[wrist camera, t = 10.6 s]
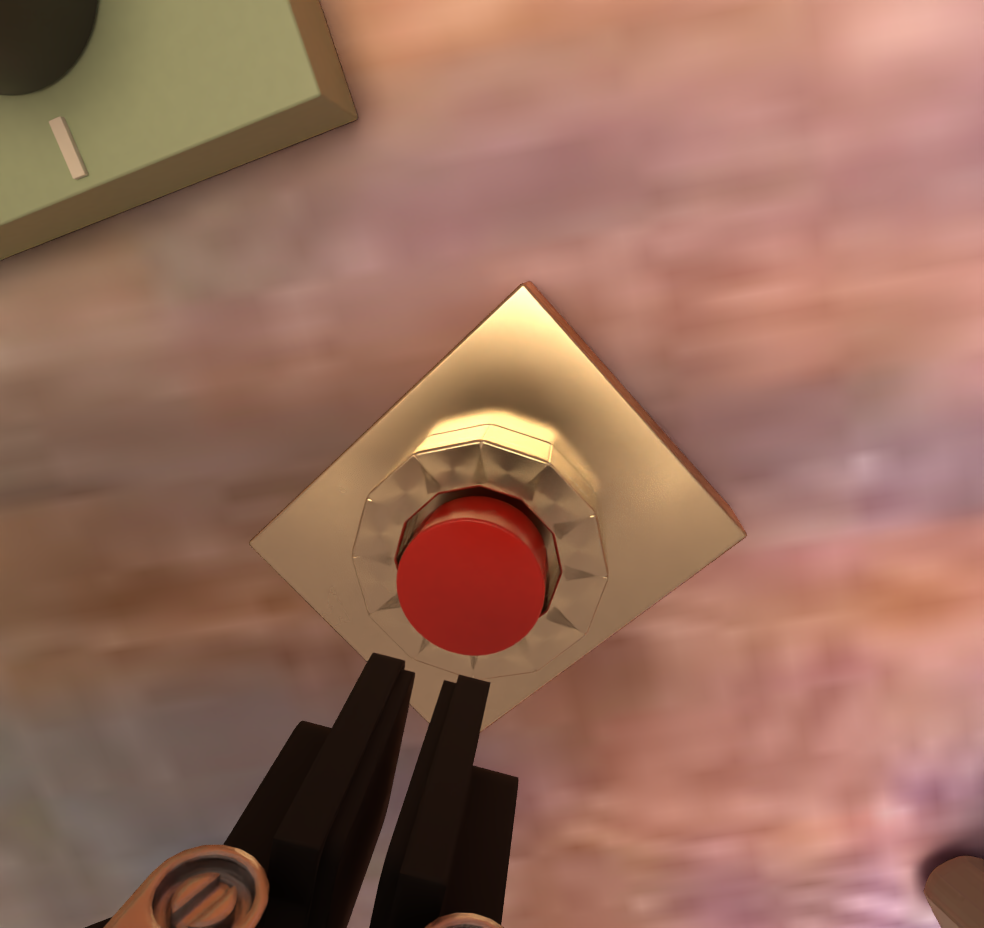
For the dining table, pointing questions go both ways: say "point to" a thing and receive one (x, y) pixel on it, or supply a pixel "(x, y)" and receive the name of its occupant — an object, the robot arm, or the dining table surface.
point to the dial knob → (41, 41)
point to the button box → (517, 481)
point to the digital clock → (957, 892)
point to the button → (473, 576)
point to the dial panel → (164, 108)
